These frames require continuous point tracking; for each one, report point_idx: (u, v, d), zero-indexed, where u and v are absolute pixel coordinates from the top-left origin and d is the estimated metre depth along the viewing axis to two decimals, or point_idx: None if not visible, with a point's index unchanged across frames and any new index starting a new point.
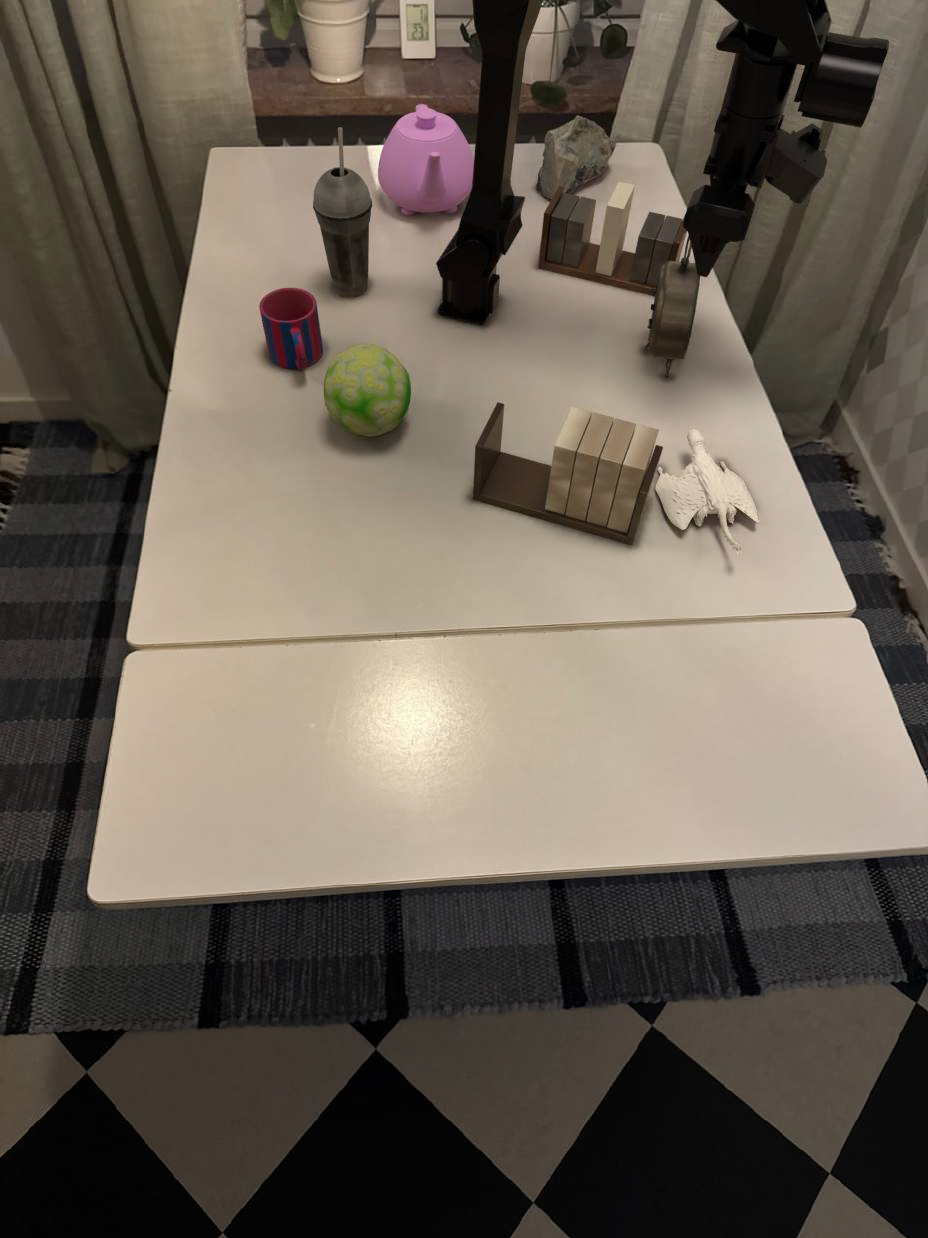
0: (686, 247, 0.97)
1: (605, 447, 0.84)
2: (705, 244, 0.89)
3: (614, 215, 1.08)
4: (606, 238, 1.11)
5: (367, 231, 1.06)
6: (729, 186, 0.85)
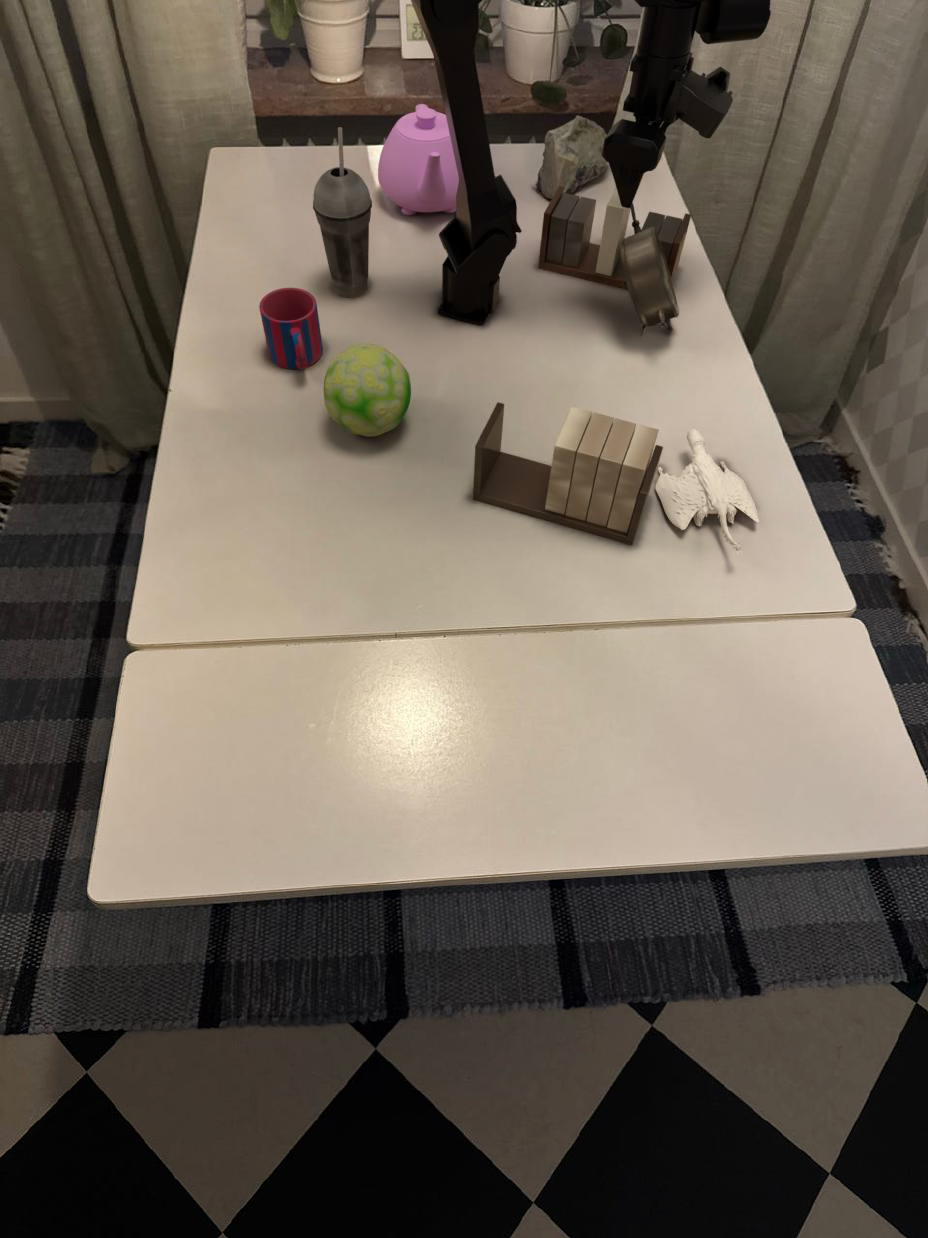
0: (634, 219, 1.05)
1: (605, 447, 0.84)
2: (625, 175, 0.99)
3: (614, 215, 1.08)
4: (606, 238, 1.11)
5: (367, 231, 1.06)
6: (644, 121, 0.95)
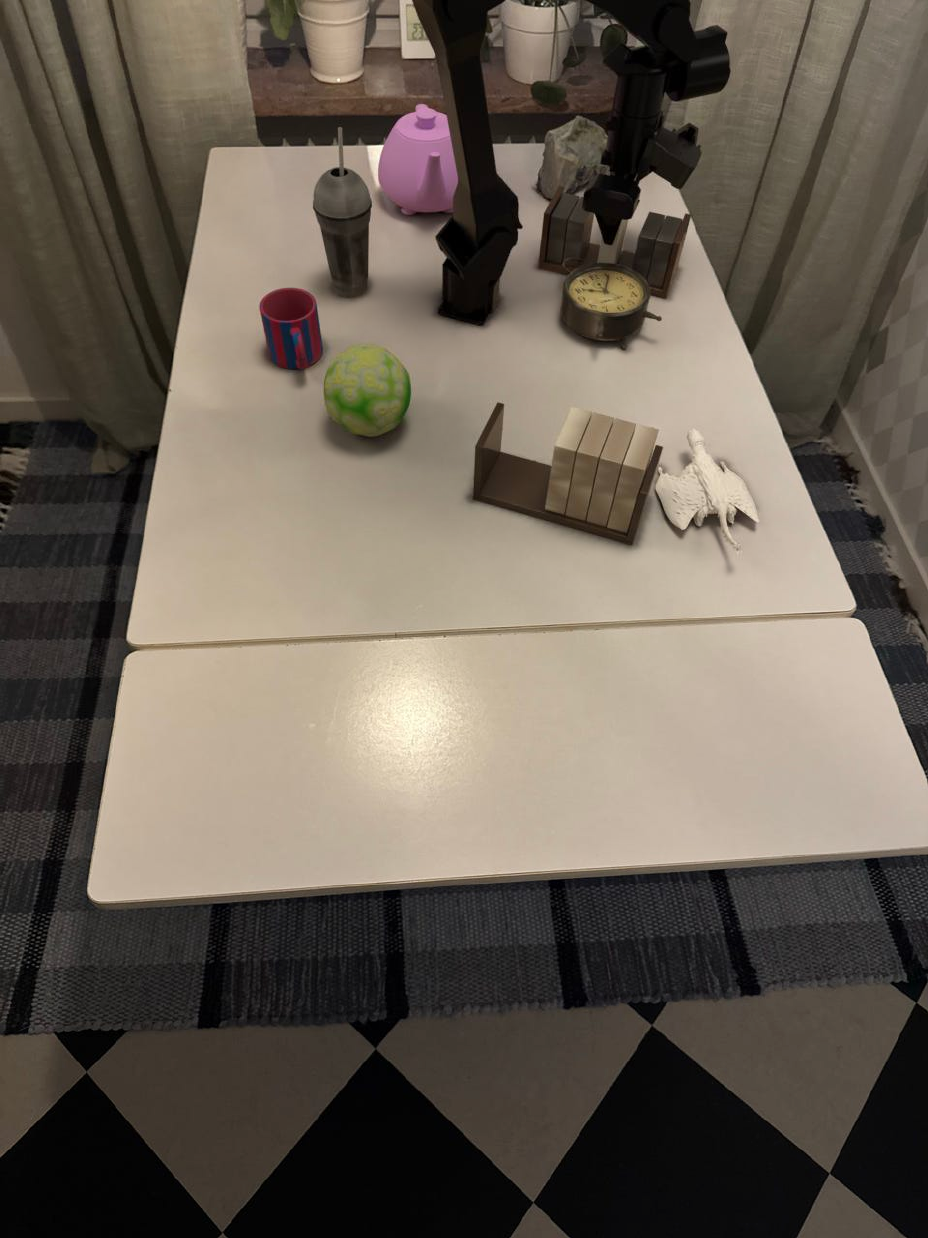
0: None
1: (605, 447, 0.84)
2: (607, 217, 1.07)
3: None
4: None
5: (367, 231, 1.06)
6: (620, 174, 1.03)
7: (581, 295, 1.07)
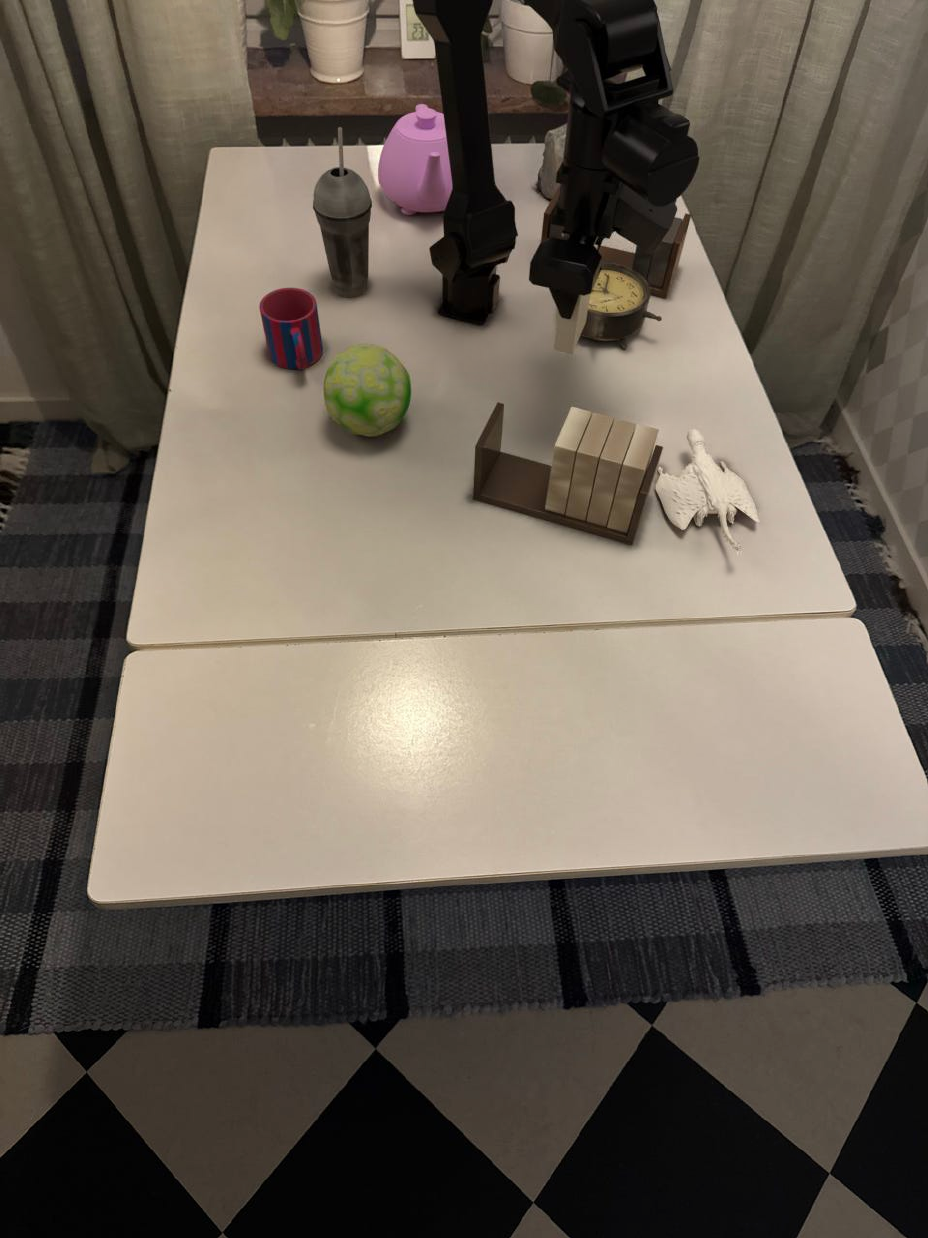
0: None
1: (605, 447, 0.84)
2: None
3: None
4: None
5: (367, 231, 1.06)
6: (576, 238, 0.82)
7: None
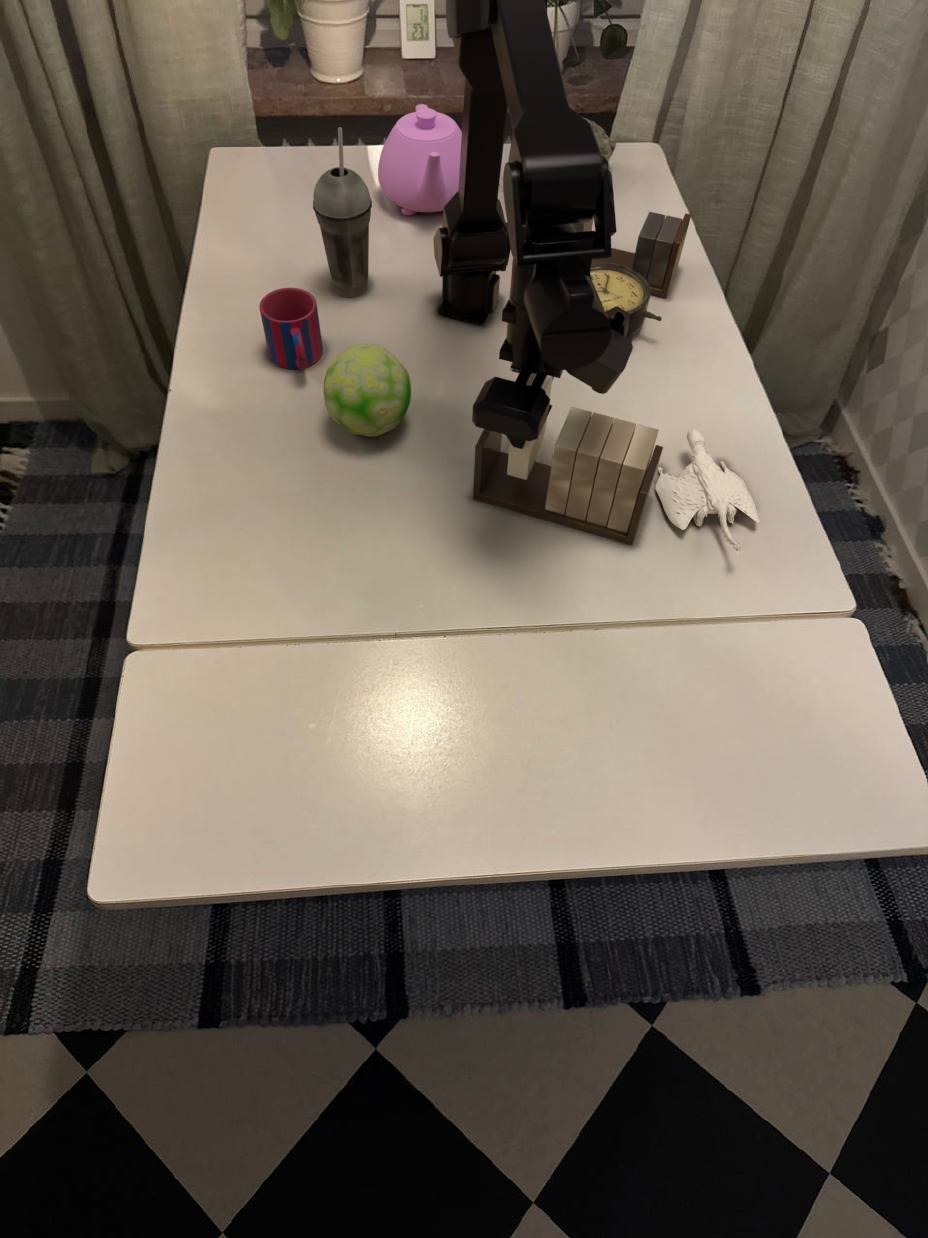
0: None
1: (605, 447, 0.84)
2: None
3: None
4: None
5: (367, 231, 1.06)
6: (524, 376, 0.77)
7: None
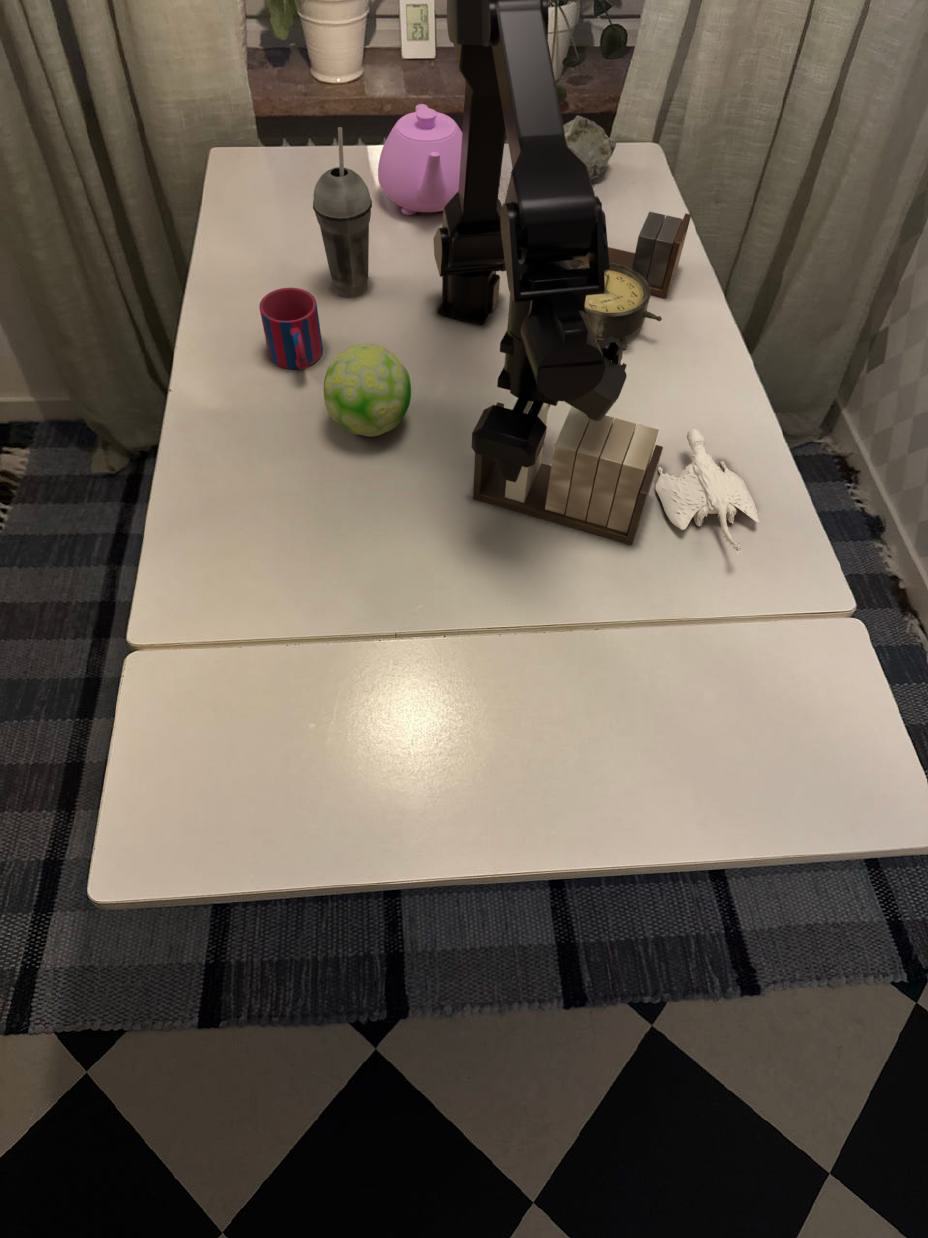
0: None
1: (605, 447, 0.84)
2: None
3: None
4: None
5: (367, 231, 1.06)
6: (522, 404, 0.80)
7: None
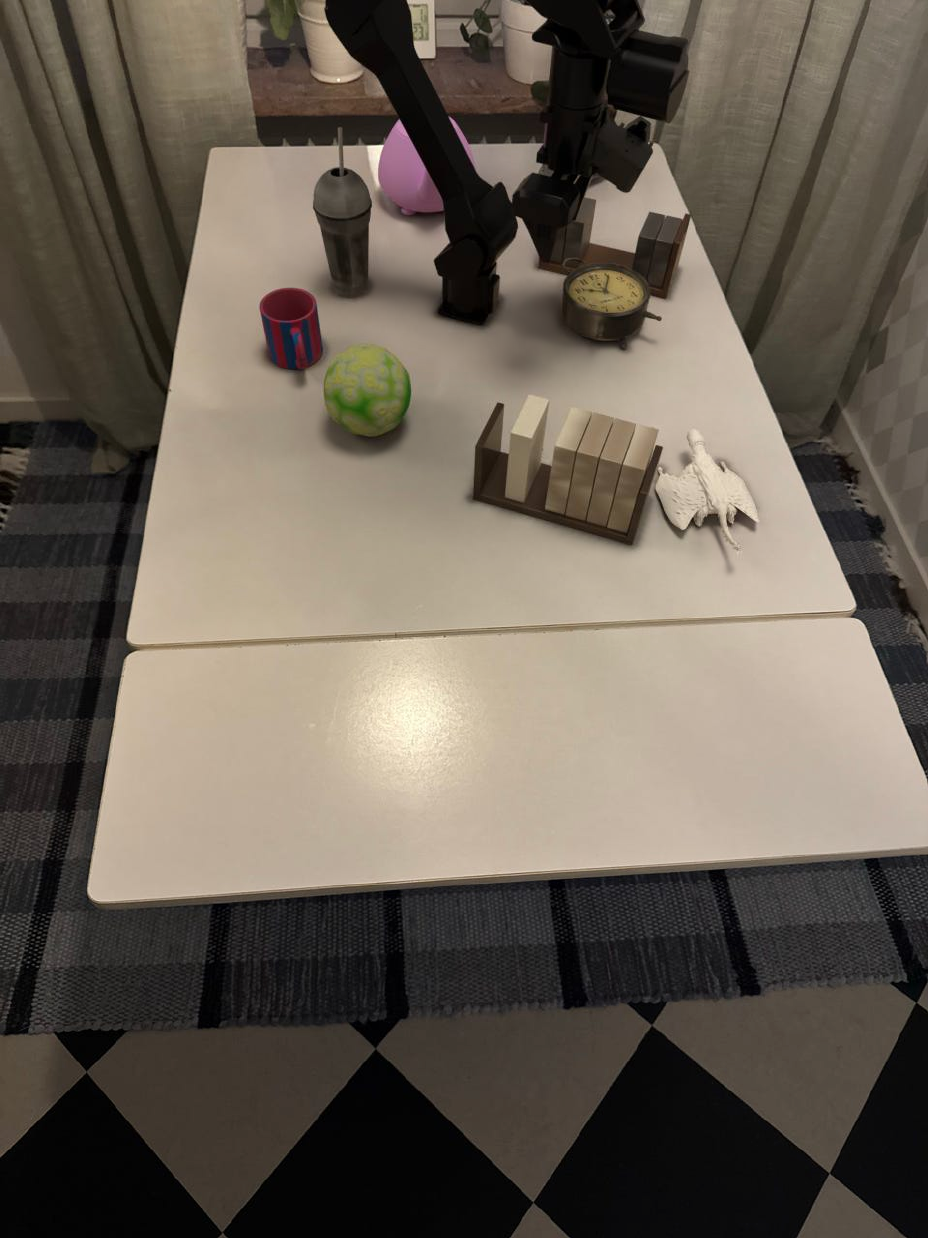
0: None
1: (605, 447, 0.84)
2: (540, 230, 0.92)
3: (521, 443, 0.85)
4: (514, 465, 0.88)
5: (367, 231, 1.06)
6: (557, 175, 0.89)
7: (581, 295, 1.07)
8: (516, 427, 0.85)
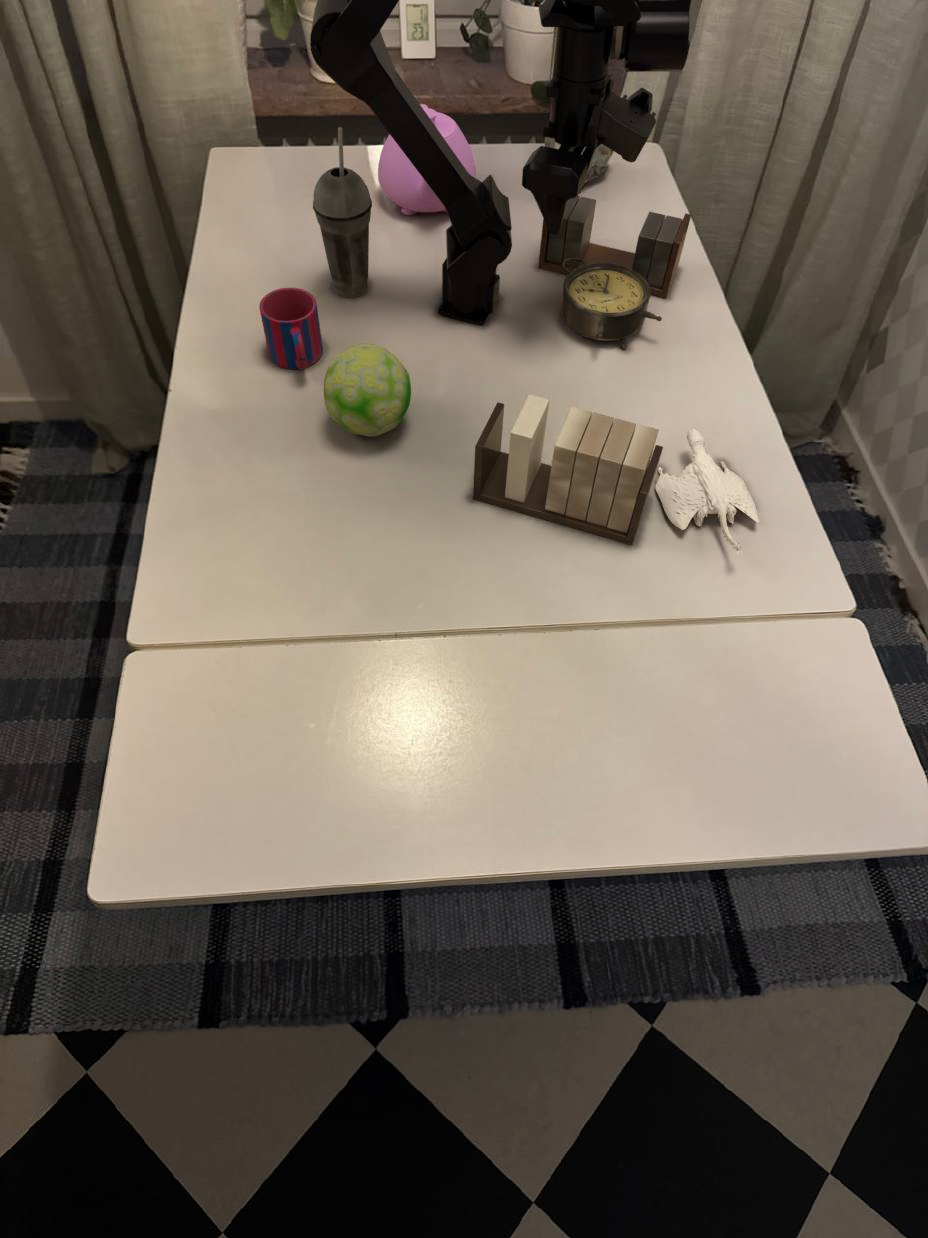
0: None
1: (605, 447, 0.84)
2: (549, 202, 0.95)
3: (521, 443, 0.85)
4: (514, 465, 0.88)
5: (367, 231, 1.06)
6: (565, 147, 0.92)
7: (581, 295, 1.07)
8: (516, 427, 0.85)
